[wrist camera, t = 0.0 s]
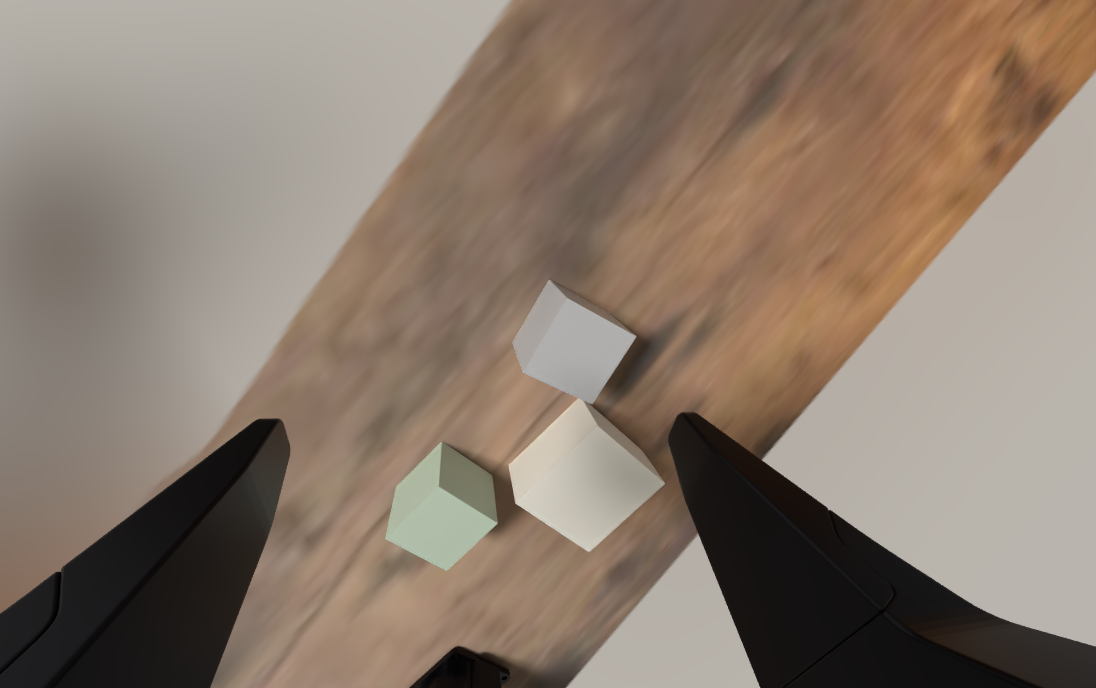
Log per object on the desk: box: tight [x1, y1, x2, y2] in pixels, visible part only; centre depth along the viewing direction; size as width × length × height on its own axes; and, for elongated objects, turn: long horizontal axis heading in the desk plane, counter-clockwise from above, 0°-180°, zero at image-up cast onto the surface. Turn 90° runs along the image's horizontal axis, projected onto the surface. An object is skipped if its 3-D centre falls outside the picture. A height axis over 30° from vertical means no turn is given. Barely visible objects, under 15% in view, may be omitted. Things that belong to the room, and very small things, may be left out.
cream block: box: [509, 398, 665, 552], centre depth 28 cm, size 7×7×4 cm
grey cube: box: [512, 280, 636, 404], centre depth 24 cm, size 4×4×4 cm
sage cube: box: [385, 442, 498, 571], centre depth 26 cm, size 4×4×4 cm
